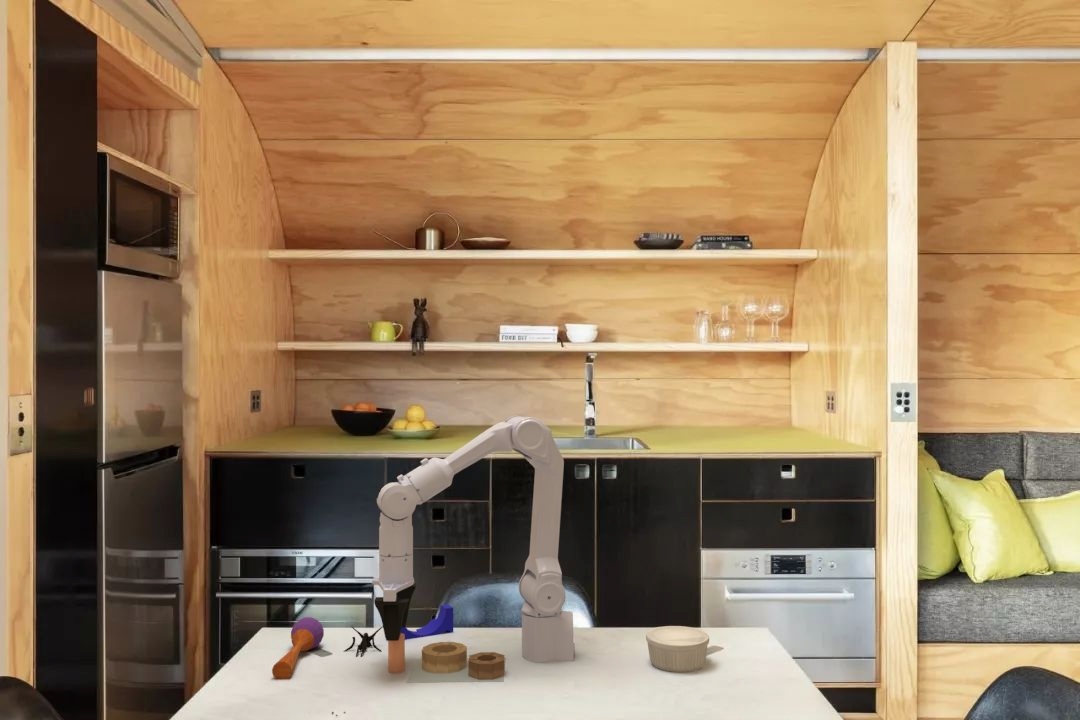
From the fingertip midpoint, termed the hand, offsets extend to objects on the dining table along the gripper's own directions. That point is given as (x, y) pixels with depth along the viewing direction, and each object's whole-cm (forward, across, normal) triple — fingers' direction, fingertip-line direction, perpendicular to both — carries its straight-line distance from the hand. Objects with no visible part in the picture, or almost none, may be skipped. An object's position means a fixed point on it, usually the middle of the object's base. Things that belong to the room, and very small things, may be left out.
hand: (396, 633), depth 150 cm
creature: (+8, -11, -8) cm, 15 cm away
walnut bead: (+6, +2, +16) cm, 17 cm away
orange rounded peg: (+7, 0, 0) cm, 7 cm away
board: (+7, 0, +11) cm, 13 cm away
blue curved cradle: (+8, -21, +2) cm, 23 cm away
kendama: (+8, -9, -19) cm, 23 cm away
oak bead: (+6, -2, +8) cm, 10 cm away
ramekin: (+7, -5, +49) cm, 50 cm away
